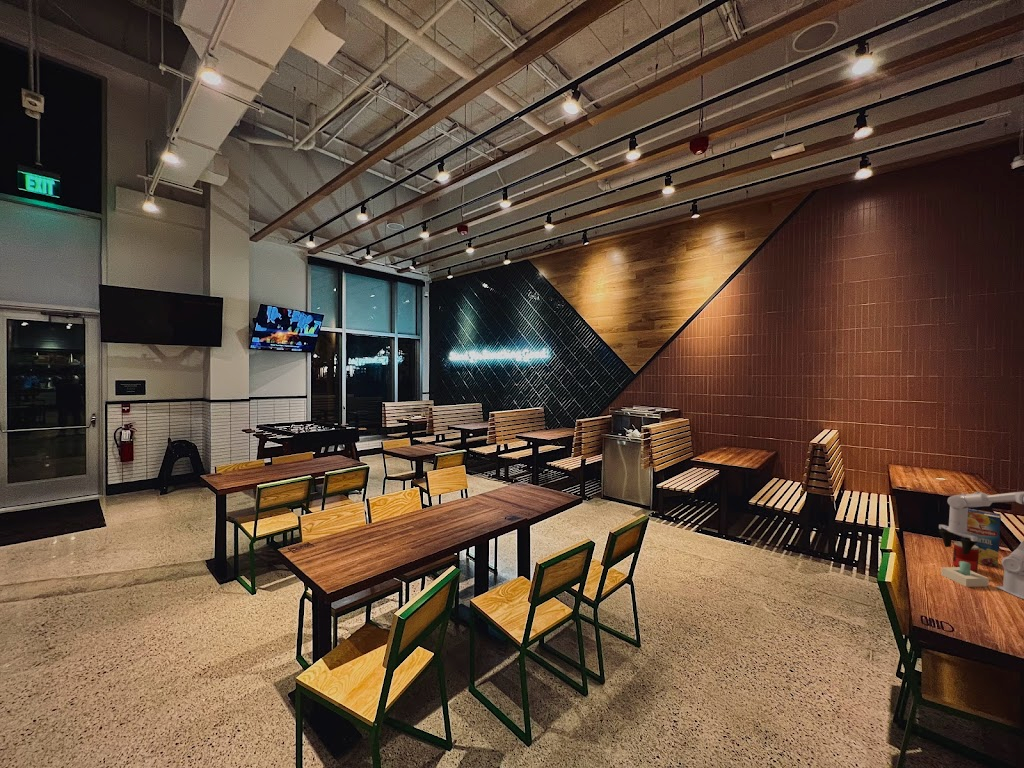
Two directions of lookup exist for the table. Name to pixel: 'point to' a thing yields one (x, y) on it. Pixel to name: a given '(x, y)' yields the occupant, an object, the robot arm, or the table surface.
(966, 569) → the peg
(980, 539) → the juice carton
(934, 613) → the table surface
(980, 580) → the socket block
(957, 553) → the canned food
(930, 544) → the table surface
